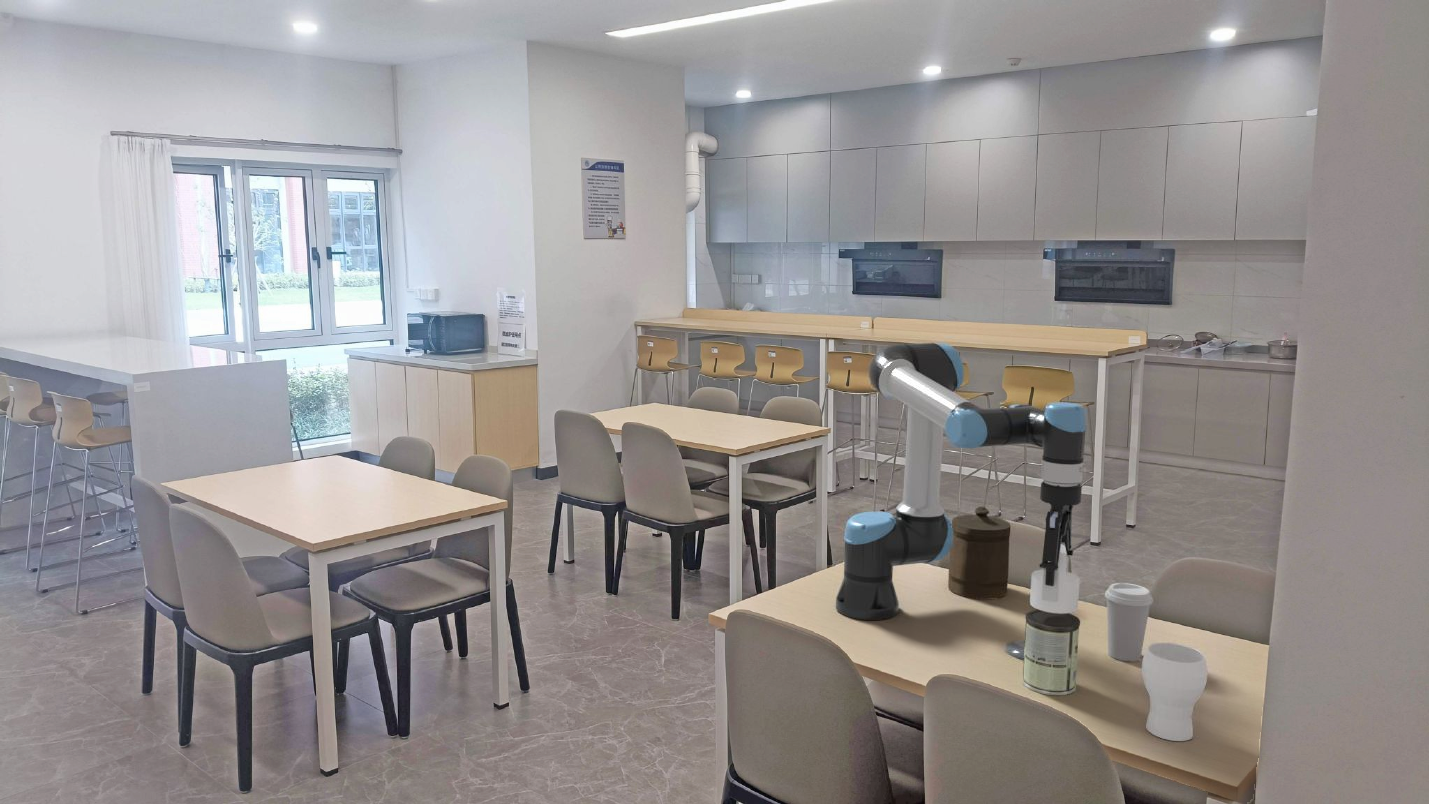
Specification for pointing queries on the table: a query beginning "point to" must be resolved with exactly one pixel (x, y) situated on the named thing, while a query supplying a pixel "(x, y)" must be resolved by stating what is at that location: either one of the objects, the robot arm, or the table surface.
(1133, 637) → the coffee cup
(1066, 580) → the base with upright slab
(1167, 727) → the cup
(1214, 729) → the table surface
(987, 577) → the wooden container
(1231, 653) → the table surface
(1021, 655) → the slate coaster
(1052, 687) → the coffee can
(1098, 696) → the table surface
